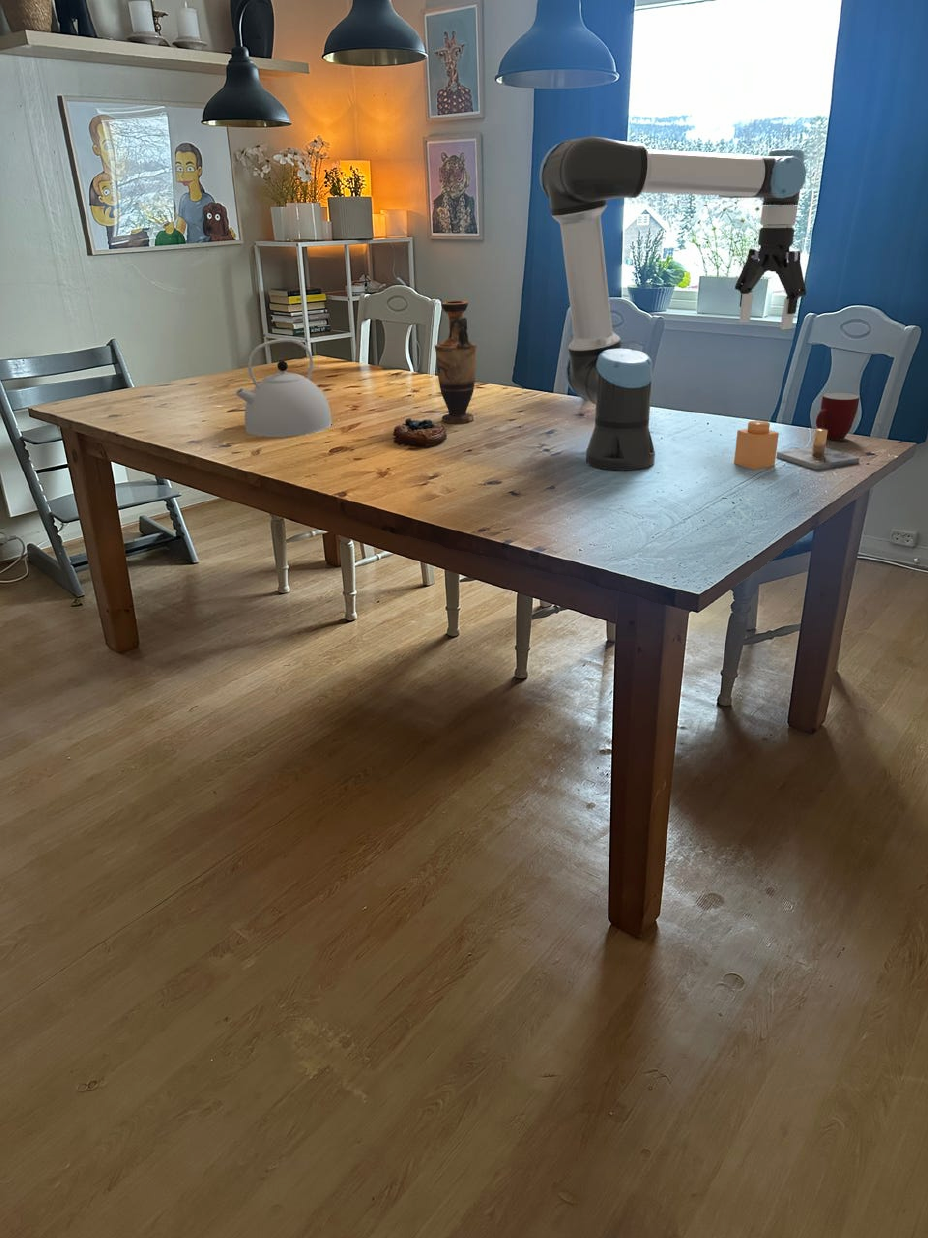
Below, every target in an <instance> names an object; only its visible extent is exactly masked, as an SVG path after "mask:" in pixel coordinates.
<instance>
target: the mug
mask: <svg viewBox="0 0 928 1238" xmlns="http://www.w3.org/2000/svg"><path fill="white" fill-rule="evenodd" d="M859 404H860V396H859V395H858V394H855V393H848V392H829V393H828V392H827V393H823V394H822V397H821V404H820V411H819V412H818V414H817V415H816V420H815V425H816V429H827V430H828V432H827V438H826V440H829V441H842V440H844V439H845V438H846V436H847V435H848V433H849V432H850V430H851V429H852V426H853V423H854V420H855V417H856V415H857V412H858V408H859Z"/></svg>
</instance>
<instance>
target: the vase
mask: <svg viewBox="0 0 928 1238" xmlns="http://www.w3.org/2000/svg"><path fill="white" fill-rule="evenodd" d="M440 305H441V307H442V309H443V312H445V313H446V315H447V316H448V323H449V332H448V333H449V334H448V337H447V339H446V340H444V341H443V342H440V343H437V344H434V351H435V361H436V369H437V378H438V379H437V380H438V386H439V390H440V393H441V395H442V398H443V401H444V404H445V405H446V408H447V410H448V413H446V414H444V415H442V417H441V421H442V422H443V423H446V424H468V423H470V422H472V421H474V419H475V418H474V415H473V414H472V413H468V412H467V410H468V407H469V404H470V402H471V400H472V396H473V394H474V389H475V384H476V383H475V382H476V372H477V371H476V367H477V366H476V365H477V349H478V348H477V346H478V345H477V343H475V342H470V341H469V336H468V335H469V334H468V321H467V317H465V316H463V315H464V312H466V310H467V308H468V306H469V301H468V300H467V301H466V300H449V301H443V302H441V303H440Z"/></svg>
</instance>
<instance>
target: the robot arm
mask: <svg viewBox="0 0 928 1238" xmlns="http://www.w3.org/2000/svg"><path fill="white" fill-rule="evenodd" d="M806 177H807V169H806V166H805V153H804V151H803V150H802V149H800V148H775V149H771V150H770V151H769V152H768V155H767V156H766V155H756V154H755V155H754V154H753V155H752V154H739V153H737V154H736V153H735V154H734V153H720V152H719V153H717V152H702V151H701V152H699V151H683V150H682V151H679V150H661V149H648V148H647V147H646V145H645V144H644V143H641V142H629V141H621V140H615V139H611V138H606V137H599V136H587V137H581V138H573V139H571V138H570V139H566V140H562V141H561V142H559V143H557V144H555V145H553V146H552V147H551V148H550V149H549V150H548V151H547V153H545V155H544V157H543V159H542V161H541V164H540V169H539V184H540V187H541V189H542V191H543V193H544V194H545V197H547V198H548V199H549V205H550V206H549V207H550V214H551V217H552V218H553V220H555V221H556V222H558V223H559V227H560V234H561V243H562V244H561V245H562V251H563V259H564V260H563V261H564V266H565V273H566V274H565V275H566V283H567V291H568V297H569V298H568V300H569V306H570V315H571V323H572V333H573V339H572V340H571V342H570V343H569V345H568V352H569V353H568V354H569V355H568V356H569V357H568V360H567V361H566V364H565V370H564V371H565V373H564V375H565V379H566V383H567V384H568V387H569V389H571V390H572V392H573V393H574V394H575V395H576V396H577V397H579V398H580V399H582V400H584V401H587V402H590V403H592V404H594V405H595V417H594V419H595V420H594V429H593V431H592V434H591V437H590V439H589V443H588V445H587V448H586V451H585V462H586V463H587V464H588V465H589V466H591V467H594V468H596V469H597V468H598V469H603V470H607V471H608V470H609V471H635V470H636V471H637V470H641V469H647V468H649V467H651V466H653V465H654V464H655V459H656V451H655V447H654V443H653V440H652V435H651V432H650V428H649V427H650V412H651V398H652V396H651V395H652V385H653V378H654V372H653V360H652V359H651V357H650V356H649V355H648V354H647V353H644V351H643V352H642V351H639V350H633V349H630V348H622V344H621V343H622V342H621V337H620V336H619V335H618V334H617V333H615V332H614V331H613V325H612V315H611V306H610V305H611V304H610V296H609V285H608V275H607V266H606V256H605V248H604V245H605V244H604V238H603V228H602V218H601V217H602V214H603V212H604V211H605V210H606V208H607V206H608V205H607V201H608V200H613V199H624V198H625V199H628V198H629V199H635V198H638V197H640V196H641V195H642V194H644V193H645V194H648V193H649V194H667V195H668V194H673V195H674V194H675V195H695V196H696V195H698V196H699V195H700V196H718V197H719V198H722V199H723V198H725V199H730V200H731V199H759V198H761V199H762V208H761V214H760V215H761V216H760V225H761V226H762V227H761V228H760V229H759V231H758V232H759V233H758V240H757V244H758V245H759V246H760V247H759V248H750V249H748V252H747V253H748V254H747V258H746V261H745V263H744V265H743V268H742V270H741V273H740V275H739V277H738V279H737V281H736V283H735V285H734V289H735V290H736V291H737V290H738V292H739V293H740V300H739V308H740V311H739V319H738V320H739V322H738V323H739V324H745V323H750V322H751V316H752V307H753V300H754V293H753V289H754V288H755V287H756V286H757V284H758V282H759V281H760V280H761V278H763V276H764V275H765V273H766V272H768V271H769V272H774V273H775V274H776V275H777V276H778V278H779V280H780V283H781V285H782V287H783V290H784V292H785V294H786V297H785V298H784V299H783V308H782V315H781V322H780V330H790V329H792V328H793V321H794V315H795V314H796V312H797V306H798V300H799V298H802V297H805V296H807V289H806V285H805V279H804V275H803V269H802V265H801V255H802V254H801V251H800V250H790V247H791V246H792V245H793V244H794V237H795V230H796V229H794V227H793V226H794V225H796V222H797V221H796V220H797V214H798V205H799V200H800V192H801V190H802V188H803V186H804V184H805V182H806Z"/></svg>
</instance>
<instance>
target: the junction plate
mask: <svg viewBox="0 0 928 1238" xmlns="http://www.w3.org/2000/svg"><path fill="white" fill-rule="evenodd" d="M827 432H828V430H827V429H818V428H816V429H815V431H814V436H813V445H812V446H805V447H801V448H794V449H787V450H781V451H776V459H777V458H778V459H780V460H783V461H786V462H789V463H791V464H792V463H793V464H795V465H799V466H801V467H804V468H807V469H810V470H813V471H817V472H818V471H821V470H827V469H828V470H829V469H833V468H837V467H838V468H839V467H844V466H845V467H846V466H849V465H850V466H851V465H856V464H860V457H858V456H855V455H852V454H849V453H845V452H842V451H839V450H836V449H832V448H828V447H826V443H827V439H826V438H827Z"/></svg>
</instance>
